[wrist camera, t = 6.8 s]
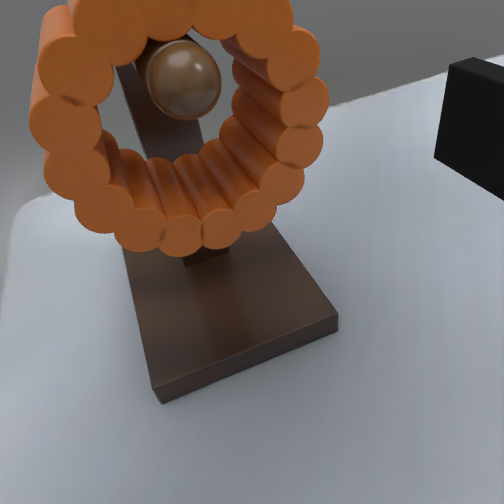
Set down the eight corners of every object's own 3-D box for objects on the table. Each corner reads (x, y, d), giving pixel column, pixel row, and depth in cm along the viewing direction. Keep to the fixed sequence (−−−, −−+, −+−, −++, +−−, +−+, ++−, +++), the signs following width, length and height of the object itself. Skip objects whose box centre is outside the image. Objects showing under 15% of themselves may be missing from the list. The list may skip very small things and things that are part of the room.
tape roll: (283, 159, 20) (257, -80, 14) (332, 210, 16) (327, -81, 10) (96, 220, 18) (-25, -21, 12) (106, 291, 15) (-56, 3, 9)
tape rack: (125, 244, 31) (-12, -51, 19) (248, 202, 32) (196, -92, 21) (167, 432, 19) (-107, -7, 8) (353, 351, 21) (370, -107, 9)
